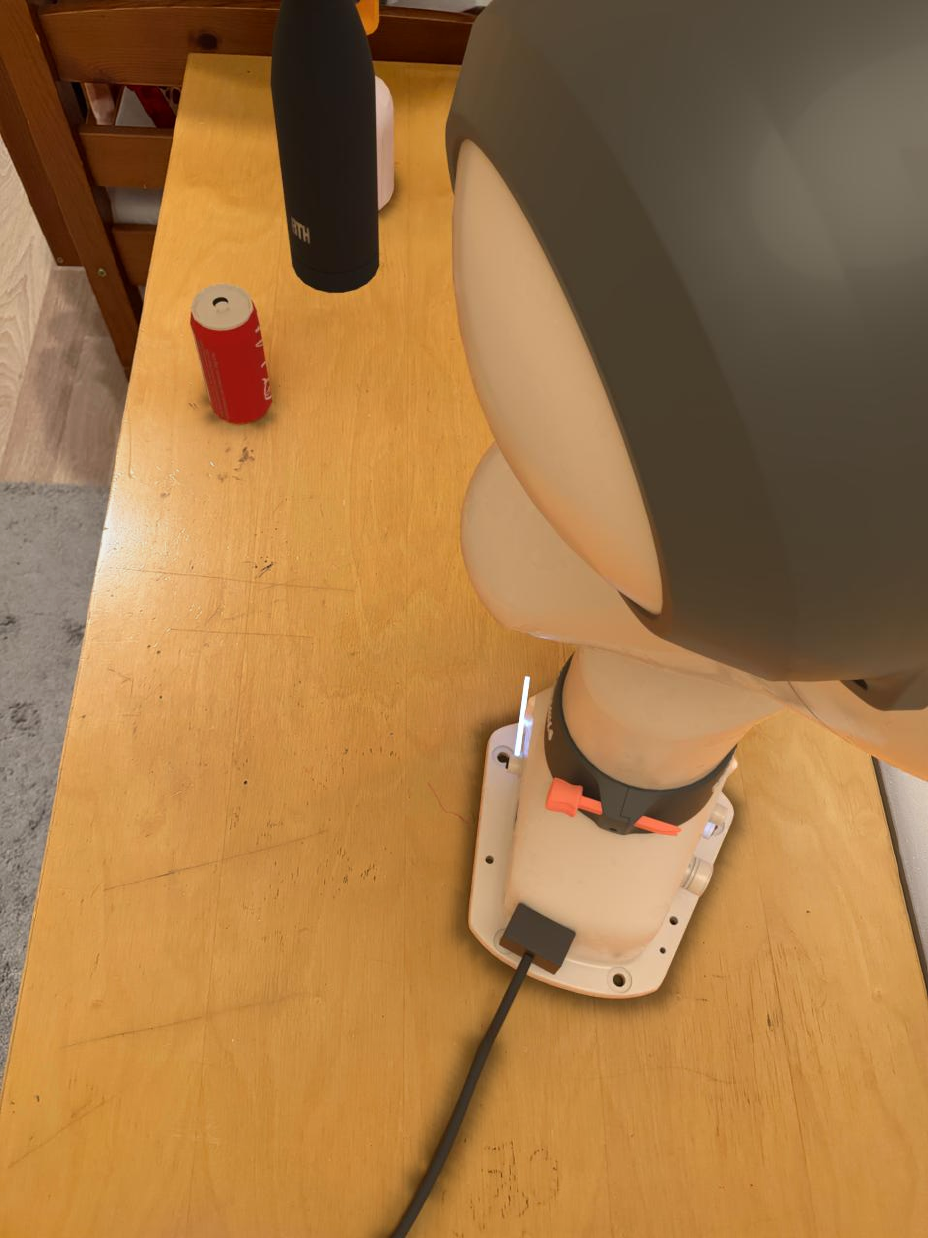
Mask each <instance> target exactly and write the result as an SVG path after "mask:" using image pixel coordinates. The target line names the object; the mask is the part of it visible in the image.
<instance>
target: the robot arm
mask: <svg viewBox="0 0 928 1238" xmlns="http://www.w3.org/2000/svg"><path fill="white" fill-rule="evenodd" d="M469 33H470V34H469V37H468V41H467V44H466V49H465V52H464V55H463V58H462V63H461V67H460V70H459V74H458V78H457V80H456V85H455V89H454V93H453V96H452V100H451V104H450V108H449V111H448V115H447V118H446V122H445V129H444V130H445V133H444V134H445V135H444V141H445V143H444V144H445V154H446V161H447V162H446V163H447V170H448V175H449V181H450V186H451V190H452V195H453V204H452V214H451V258H452V259H451V261H452V263H451V265H452V269H451V271H452V272H451V273H452V284H453V291H454V293H453V294H454V297H455V298H454V299H455V307H456V314H457V315H456V317H457V323H458V324H457V325H458V330H459V334H460V335H459V336H460V338H461V343H462V347H463V351H464V356H465V358H466V363H467V367H468V370H469V374H470V379H471V383H472V385H473V389H474V392H475V395H476V397H477V401H478V403H479V405H480V408H481V410H482V413H483V415H484V417H485V420H486V422H487V425H488V428H489V429H490V432H491V434H492V436H493V438H494V441H493V442H492V443H491V445H490V446H489V447H488V448H487V449H486V451H485V452H484V453H483V455H482V456H481V458H480V460H479V461H478V463H477V465H476V466H475V468H474V470H473V472H472V475H471V477H470V479H469V482H468V484H467V487H466V490H465V494H464V497H463V502H462V506H461V510H460V522H459V538H460V549H461V556H462V559H463V564H464V567H465V570H466V574H467V576H468V579H469V581H470V585H471V587H472V589H473V591H474V592H475V594H476V596H477V597H478V599H479V601H480V603H481V604H482V605H483V607H484V608H485V609H486V611H487V612H488V613H489V614H490V616H491V617H492V618H493V620H495V621H496V623H498V624H499V626H500V627H501V628H503V629H505V630H509V631H513V632H516V633H521V634H523V635H524V634H525V635H528V636H532V637H536V638H541V639H544V640H548V641H552V642H557V643H562V644H566V645H570V646H574V647H575V650H574V651H573V652H572V653H571V654H570V655H569V657H568V659H567V660H566V661H565V663H564V665H562V667H561V669H560V670H559V672H558V673H557V677H556V679H555V681H554V683H553V685H552V686H550V687H548V688H546V689H544V690H541V691H539V692H537V693H535V694H534V695H532V696H530V697H529V698H528V692H529V686H530V676H524V683H523V690H522V698H521V705H520V713H519V721H518V722H516V723H511V724H507V725H504V726H502V727H499V728H498V729H495V730H494V731H493V732H492V733H491V735H490V736H489V739H488V741H487V744H486V751H485V760H484V767H483V778H482V786H481V794H480V795H481V796H480V803H479V804H480V805H479V813H478V821H477V832H476V841H475V850H474V858H473V868H472V876H471V886H470V894H469V904H468V913H467V924H468V928H469V930H470V932H471V934H473V936H474V937H475V939H476V940H477V941H478V942H479V943H480V944H481V945H482V946H483V948H485V949H486V950H487V951H488V952H490V954H491V955H492V956H494V957H495V958H497V959H498V960H499V961H501V962H502V963H504V964H505V965H507V966H509V967H510V968H512V969H514V970H515V971H514V974H513V976H512V978H511V980H510V982H509V984H508V986H507V988H506V991H505V993H504V995H503V997H502V999H501V1001H500V1003H499V1006H497V1007H498V1008H497V1010H496V1012H495V1014H494V1016H493V1018H492V1020H491V1022H490V1024H489V1026H488V1028H487V1030H486V1033H485V1034H484V1036H483V1039H482V1041H481V1042H480V1046H479V1047H478V1050H477V1052H476V1055H475V1057H474V1059H473V1062H472V1064H471V1067H470V1069H469V1072H468V1074H467V1077H466V1079H465V1082H464V1084H463V1087H462V1090H461V1093H460V1094H459V1097H458V1100H457V1102H456V1105H455V1108H454V1110H453V1113H452V1115H451V1117H450V1121H449V1123H448V1125H447V1127H446V1131H445V1133H444V1135H443V1137H442V1140H441V1141H440V1144H439V1146H438V1149H437V1150H436V1153H435V1155H434V1157H433V1158H432V1162H431V1164H430V1165H429V1167H428V1170H427V1172H426V1174H425V1176H424V1178H423V1180H422V1181H421V1184H420V1186H419V1188H418V1189H417V1191H416V1193H415V1195H414V1197H413V1198H412V1201H411V1203H410V1204H409V1206H408V1208H407V1209H406V1212H404V1214H403V1216H402V1219H401V1220H400V1222H399V1224H398V1225H397V1226H396V1229H395V1230H394V1232H393V1233H392V1235H391V1237H390V1238H407V1235H408V1233H410V1230H411V1228H412V1227H413V1225H414V1223H415V1221H416V1219H418V1216H419V1214H420V1212H421V1211H422V1209H423V1207H424V1206H425V1203H426V1201H427V1199H429V1198H428V1197H429V1195H430V1194H431V1191H432V1189H433V1188H434V1186H435V1184H436V1182H437V1180H438V1178H439V1176H440V1174H441V1172H442V1169H443V1167H444V1166H445V1164H446V1161H447V1159H448V1157H449V1154H450V1152H451V1150H452V1148H453V1144H454V1143H455V1140H456V1139H457V1138H456V1137H457V1135H458V1134H459V1130H460V1129H461V1128H460V1127H461V1126H462V1122H463V1121H464V1118H465V1115H466V1112H467V1110H468V1107H469V1104H470V1102H471V1099H472V1096H473V1095H474V1091H475V1088H476V1087H477V1083H478V1081H479V1079H480V1076H481V1073H482V1071H483V1068H484V1066H485V1064H486V1061H487V1059H488V1056H489V1054H490V1052H491V1049H492V1048H493V1046H494V1043H495V1041H496V1038H497V1036H498V1034H499V1032H500V1031H501V1028H502V1027H503V1024H504V1023H505V1020H506V1018H507V1017H508V1015H509V1012H510V1010H511V1008H512V1006H513V1004H514V1001H515V999H516V998H517V995H518V993H519V991H520V989H521V988H522V984H523V982H524V980H525V978H526V976H528V977H530V978H532V979H535V980H537V981H540V982H542V983H545V984H547V985H549V986H553V987H556V988H559V989H562V990H566V991H569V992H571V993H572V992H573V993H576V994H579V995H585V996H590V997H595V998H602V999H631V998H637V997H638V998H639V997H642V996H643V997H644V996H646V995H649V994H652V993H654V992H656V991H657V990H659V988H660V987H661V986H662V984H663V982H664V980H665V978H666V976H667V973H668V971H669V968H670V966H671V964H672V963H673V960H674V957H675V954H676V952H677V950H678V948H679V945H680V943H681V941H682V938H683V936H684V934H685V932H686V930H687V926H688V924H689V922H690V920H691V918H692V915H693V913H694V910H695V908H696V906H697V903H698V901H699V899H700V897H701V896H702V895H703V894H704V893H705V891H706V889H707V887H708V885H709V883H710V881H711V878H712V876H713V872H714V864H715V862H716V859H717V857H718V856H719V852H720V850H721V848H722V845H723V843H724V841H725V838H726V836H727V834H728V832H729V829H730V826H731V824H732V823H733V819H734V816H735V810H734V807H733V805H732V802H731V801H730V799H729V798H728V797H727V795H726V794H725V793H724V792H723V788H724V786H725V784H726V781H727V779H728V777H729V776H730V775H731V774H732V773H733V772H734V771H735V770H736V769H737V768H738V761H737V760H736V758H735V753H736V752H735V751H736V749H737V747H738V744H739V741H741V740H742V739H743V738H744V737H745V735H746V734H748V732H749V731H751V729H752V728H753V727H755V726H756V725H758V724H759V723H762V722H763V721H766V720H767V719H769V718H771V717H774V716H776V715H778V714H781V713H783V712H785V711H787V710H791V711H793V712H795V713H797V714H798V715H800V716H801V717H804V718H806V719H807V720H808V721H811V722H813V723H814V724H816V725H818V726H820V727H822V728H823V729H825V730H826V731H829V732H830V733H832V734H833V735H835V736H837V737H838V738H840V739H842V740H844V741H845V742H847V743H849V744H850V745H852V746H854V747H855V748H856V749H858V750H860V751H863V752H864V753H866V754H868V755H870V756H871V757H873V758H876V760H879V761H881V762H883V763H884V764H886V765H888V766H891V767H893V768H896V769H897V770H899V771H901V772H904V773H906V774H908V775H910V776H912V777H915V778H917V779H919V780H922V781H923V782H924V781H925V782H926V783H928V0H491V1H490V2H489V3H488V5H486V6H485V8H484V9H483V10H482V11H481V12H480V13H479V14H478V15H477V16H476V18H475V20H474V21H473V23H472V26H471V29H470V32H469ZM500 756H503V757H505V758H506V759H505V760H506V761H505V762H501V761H499V759H498V757H500ZM486 860H490V861H491V863H489V862H487V861H486ZM670 920H672V921H673V922H674V924H672V923H671V921H670ZM615 976H619V977H621V980H622V981H623V984H622V986H617V985H616V984H615V983H614V977H615Z"/></svg>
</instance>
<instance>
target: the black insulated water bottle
mask: <svg viewBox="0 0 928 1238" xmlns="http://www.w3.org/2000/svg"><path fill="white" fill-rule="evenodd" d="M355 4H356V2H355V0H281V1H280V5H279V8H278V13H277V17H276V18H277V19H276V22H275V26H274V31H273V37H272V47H271V48H272V49H271V64H270V65H271V67H270V84H269V85H270V93H271V99H272V100H271V101H272V109H273V117H274V125H275V134H276V142H277V150H278V159H279V167H280V176H281V183H282V191H283V200H284V209H285V217H286V226H287V233H288V242H289V249H290V260H291V266H292V269H293V271H294V273H295V276H296V277H297V278H298V279H299V280H300V281H301V282H302V283H303V284H304V285H306V286H307V287H309V288H311V289H313V290H315V291H318V292H322V293H327V294H344V293H350V292H353V291H357V290H359V289H361V288H363V287H364V286H366V285H368V284H369V283H370V282H371V281H372V280H373V279H374V277H376V276H377V272H378V270H379V269H380V237H379V236H380V233H379V232H380V231H379V230H380V228H379V210H378V176H377V129H376V83H375V76H376V72H375V71H376V70H375V66H374V62H373V61H374V60H373V57H372V51H371V47H370V43H369V39H368V35H367V34H366V32H365V29H364V26H363V23H362V21H361V18H360V15H359V12H358V10H357V7H356V5H355Z"/></svg>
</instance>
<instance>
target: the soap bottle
mask: <svg viewBox="0 0 928 1238" xmlns="http://www.w3.org/2000/svg"><path fill="white" fill-rule="evenodd" d="M355 5H356V7H357V10H358V12H359V15H360V18H361V21H362V23H363V26H364V29H365V32H366V34H367V36H369V35H371V34H373V33H375V31H376V30H377V29H378V28H379V27H378V26H379V23H380V0H359V1H358V2H357V3H355ZM375 83H376V129H377V176H378V211H381V210H382V209H383V208H384V207H385V206H386V205H387V204H388V203H389V202H390V201H391V198H392V196H393V193H394V190H395V129H394V128H395V107H394V99H393V95H392V94H391V91H390V88H389V87H388V86H387V84H386V83H385V82H384V80H383V79H381V78H380V77H379V76H377V75H375Z"/></svg>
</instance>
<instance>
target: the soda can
mask: <svg viewBox="0 0 928 1238" xmlns="http://www.w3.org/2000/svg"><path fill="white" fill-rule="evenodd" d="M189 325H190V329H191V333H192V337H193V340H194V345H195V349H196V352H197V353H196V354H197V356H198V360H199V365H200V369H201V373H202V377H203V381H204V385H205V389H206V393H207V397H208V401H209V404H210V406H211V409H212V411H213V413H214V414H215V415H216V416H217V417H219V419H221V420H223V421H225V422H228V423H232V424H248V423H252V422H255V421H256V420H259V419H260V418H262V417H264V416H265V415H266V414H267V412H268V410H269V409H270V407H271V405H272V403H273V397H272V392H271V390H272V389H271V385H270V379H269V373H268V367H267V360H266V355H265V354H266V353H265V349H264V342H263V337H262V331H261V324H260V319H259V314H258V309H257V307H256V305H255V303H254V301H253V299H252V297H251V294H250V293H249V292H248V291H247V290H246V289H245V288H243V287H241V286H239V285H236V284H233V283H226V282H225V283H215V284H211V285H208V286H206V287H203V288H202V289H200V291H198V292H197V293H196V294H195V295H194V296H193V298H192V302H191V304H190V321H189Z"/></svg>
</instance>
